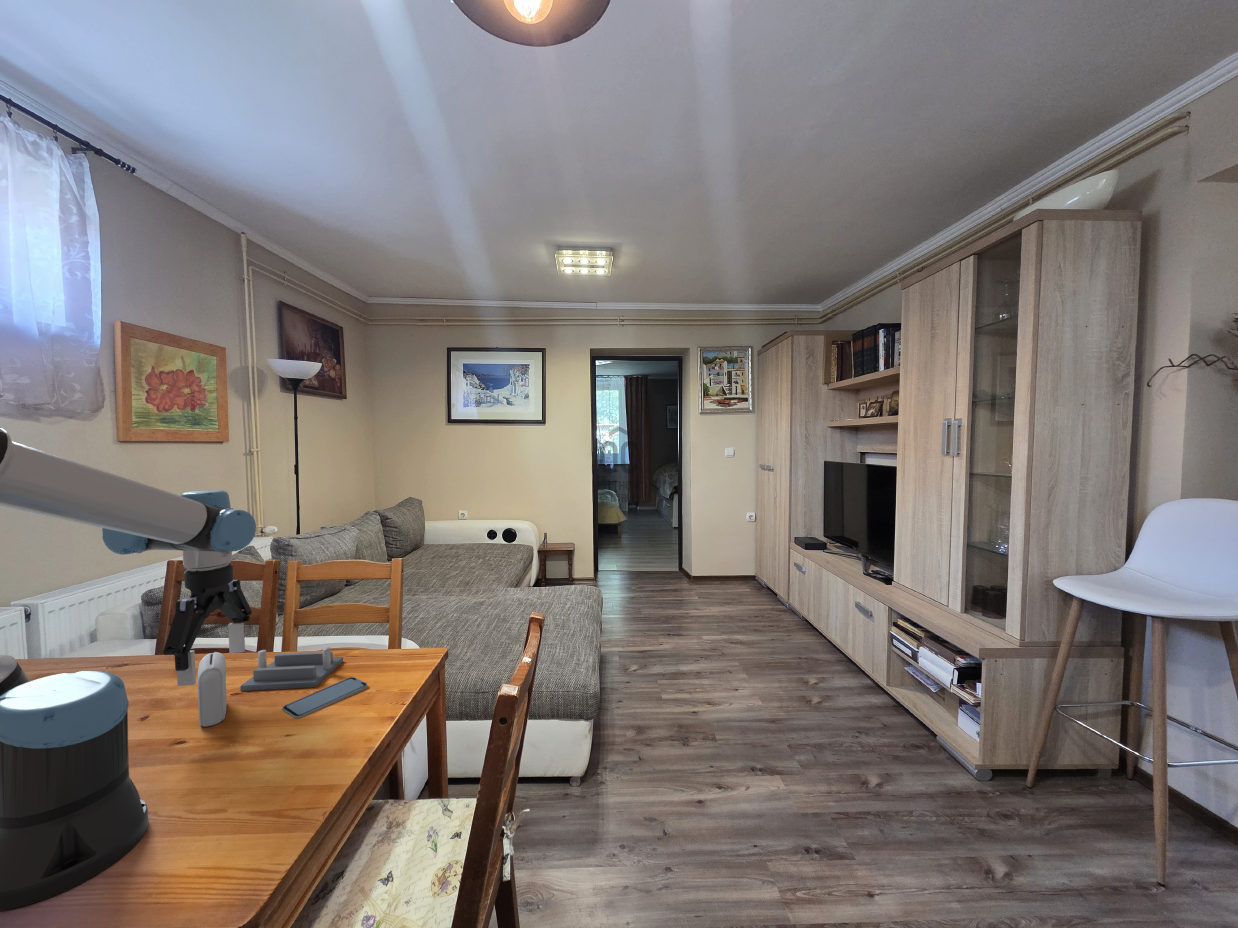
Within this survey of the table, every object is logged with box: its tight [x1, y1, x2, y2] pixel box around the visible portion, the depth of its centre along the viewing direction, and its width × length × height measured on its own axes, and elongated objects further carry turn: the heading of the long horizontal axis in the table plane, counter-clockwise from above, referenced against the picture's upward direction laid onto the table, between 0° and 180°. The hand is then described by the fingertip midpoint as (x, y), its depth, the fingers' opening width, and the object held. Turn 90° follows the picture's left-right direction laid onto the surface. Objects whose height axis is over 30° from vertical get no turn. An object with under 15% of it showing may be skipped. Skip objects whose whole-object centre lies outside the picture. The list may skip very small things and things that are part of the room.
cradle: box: [239, 646, 344, 692], centre depth 112 cm, size 13×16×6 cm
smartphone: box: [281, 676, 368, 719], centre depth 102 cm, size 7×1×15 cm
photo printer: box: [197, 651, 228, 728], centre depth 95 cm, size 10×4×12 cm, turn 39°
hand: (213, 667), depth 96 cm, fingers open, 13 cm apart
